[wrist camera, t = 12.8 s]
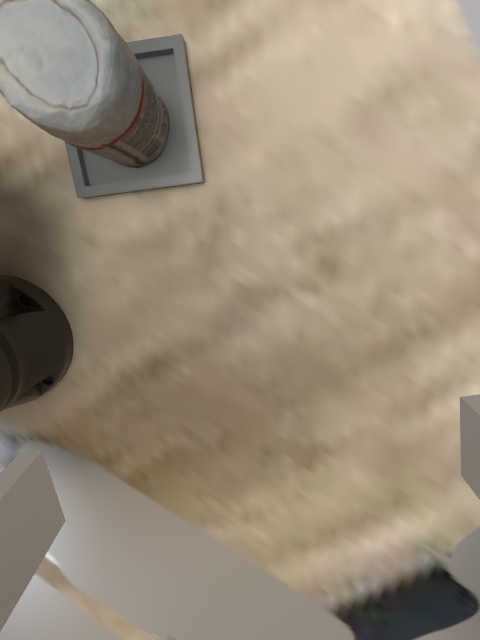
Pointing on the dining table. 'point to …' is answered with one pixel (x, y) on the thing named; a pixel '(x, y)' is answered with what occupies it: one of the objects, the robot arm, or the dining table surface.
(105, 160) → the tray
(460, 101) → the dining table surface
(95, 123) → the spray can
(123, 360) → the dining table surface
